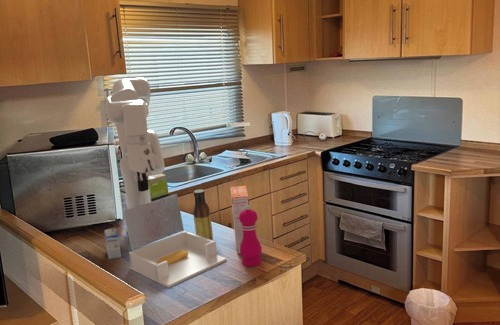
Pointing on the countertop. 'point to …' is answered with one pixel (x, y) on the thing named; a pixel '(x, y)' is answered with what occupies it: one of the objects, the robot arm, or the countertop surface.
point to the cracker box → (238, 211)
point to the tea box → (158, 187)
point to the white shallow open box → (168, 275)
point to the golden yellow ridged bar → (174, 257)
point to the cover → (153, 221)
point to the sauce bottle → (202, 216)
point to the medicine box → (112, 243)
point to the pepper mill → (249, 238)
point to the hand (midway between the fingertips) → (143, 190)
